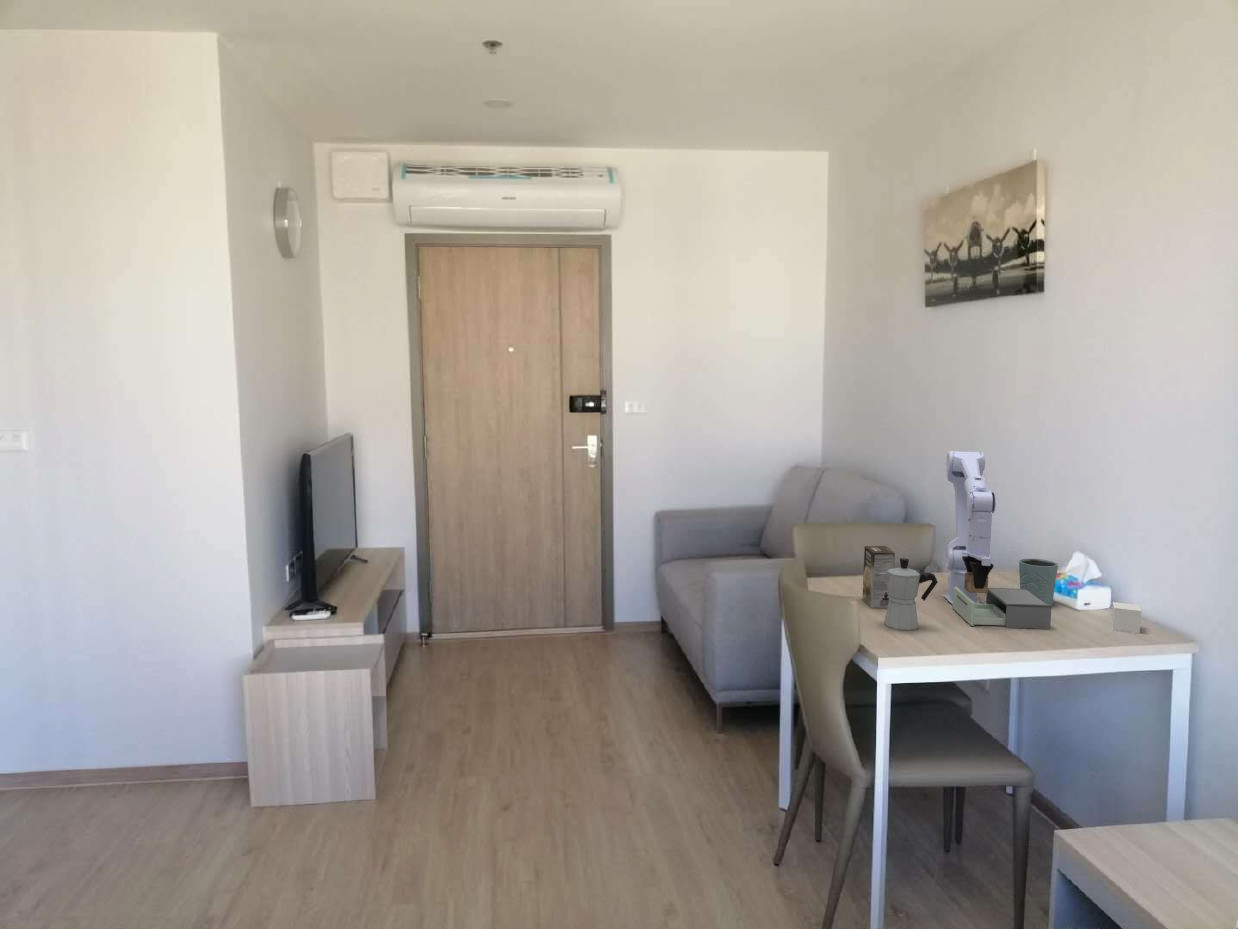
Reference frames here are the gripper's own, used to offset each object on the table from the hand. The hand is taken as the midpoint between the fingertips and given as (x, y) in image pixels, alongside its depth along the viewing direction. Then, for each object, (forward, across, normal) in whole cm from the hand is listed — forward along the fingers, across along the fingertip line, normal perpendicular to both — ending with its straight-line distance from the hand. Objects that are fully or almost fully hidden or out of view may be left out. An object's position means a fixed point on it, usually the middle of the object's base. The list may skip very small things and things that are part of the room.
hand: (976, 585), depth 224 cm
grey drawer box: (+9, -1, +11) cm, 14 cm away
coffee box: (+10, -12, -23) cm, 28 cm away
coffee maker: (+10, +8, -20) cm, 23 cm away
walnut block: (+1, 0, 0) cm, 1 cm away
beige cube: (+10, +3, +37) cm, 38 cm away
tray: (+9, -1, +3) cm, 10 cm away
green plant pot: (+10, -18, +23) cm, 31 cm away
